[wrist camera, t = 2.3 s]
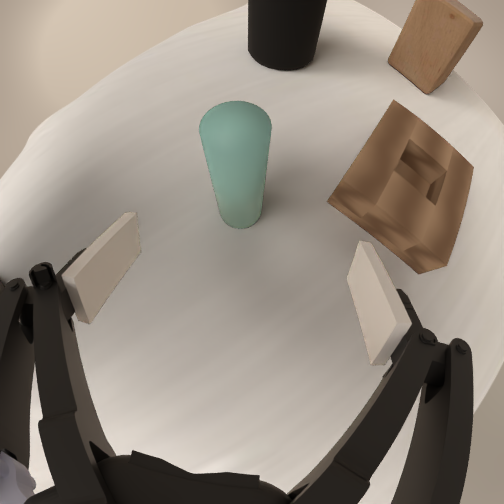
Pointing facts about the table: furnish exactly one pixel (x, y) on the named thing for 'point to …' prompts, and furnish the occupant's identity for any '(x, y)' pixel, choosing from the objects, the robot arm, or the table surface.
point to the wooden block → (433, 41)
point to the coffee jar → (284, 31)
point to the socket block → (407, 190)
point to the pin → (237, 159)
